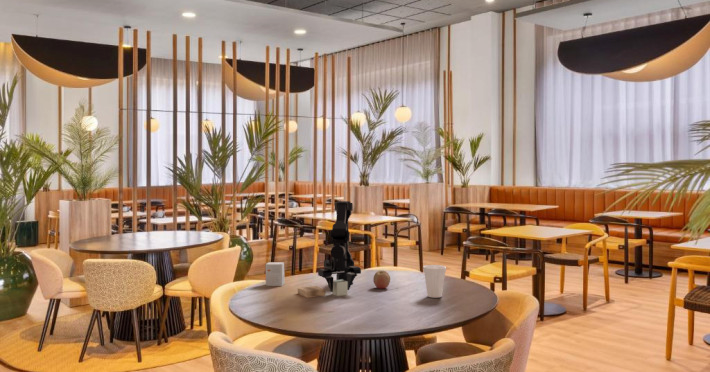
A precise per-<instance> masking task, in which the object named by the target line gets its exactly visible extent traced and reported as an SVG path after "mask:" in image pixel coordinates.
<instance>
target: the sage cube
mask: <svg viewBox="0 0 710 372" xmlns="http://www.w3.org/2000/svg"><path fill="white" fill-rule="evenodd" d="M348 291H349V290H348V282H347V281H345V280H336V279H335V280H334V279H333V292H331V295H333V296H336V297H341V296H347V295H348Z"/></svg>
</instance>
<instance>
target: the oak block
mask: <svg viewBox="0 0 710 372" xmlns="http://www.w3.org/2000/svg"><path fill="white" fill-rule="evenodd" d="M297 294H298V295H300V296H302V297H303V298H307V299H308V298H314V297H323V296H326V289H325V288H323V287H321V286H318V285H313V286H304V287H303V286H302V287H298V288H297Z"/></svg>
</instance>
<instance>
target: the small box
mask: <svg viewBox="0 0 710 372" xmlns="http://www.w3.org/2000/svg"><path fill="white" fill-rule="evenodd" d="M284 285H285V262H283V261H282V262H280V261H277V262H276V261H275V262H273V261H272V262H270V261H269V262H266V264H265V286H266V287H283V286H284Z"/></svg>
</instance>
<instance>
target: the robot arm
mask: <svg viewBox="0 0 710 372" xmlns="http://www.w3.org/2000/svg"><path fill="white" fill-rule="evenodd" d="M353 210H354V204H353V203H352V202H351V201H350V200H345V201H344V200H338V201H336V202H334V211H335V212H336V213H335V214H336V221H335V222H334V223H333V224H332V228H331V229H330V234H329V235H330V236H329V244H330V245H331V244H333V245H332V247H331V249H330V256H331V260H329V259H326V260H323V267H324V268H319V269H318V271H317V276H319V277H322V278H324V279H325V280H326V283H327V284H328V288H329V291H330V293H332V292H333V280H334V276H333V275H336V279H335V280H345V281H347V282H348V291H349V290H350V289H351V286H352V285H353V284H354V281H355V278H356V277H357V276H358V275H359V274H362V269H361V267H360V266H357V265H355V261H354V259H353V257H352V253H351V252H350V250H349V242H350V231H349V219H350V217H351V215H352V214H353V213H352V212H353Z"/></svg>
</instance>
